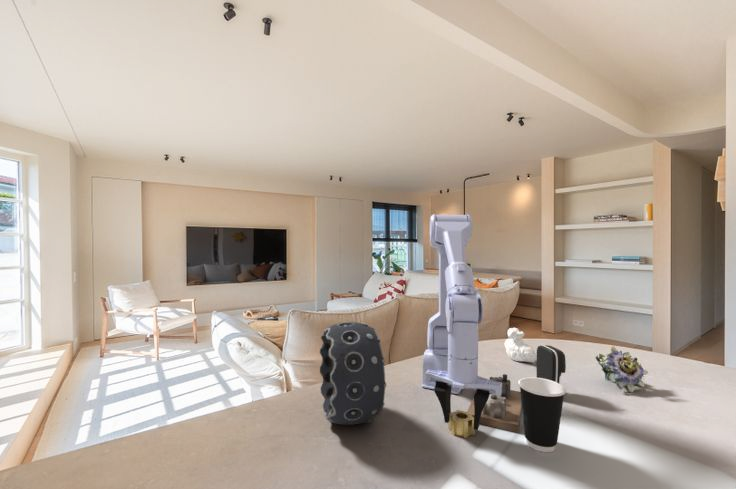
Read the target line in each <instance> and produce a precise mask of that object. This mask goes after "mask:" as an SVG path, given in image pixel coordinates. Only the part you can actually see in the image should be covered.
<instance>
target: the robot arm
mask: <svg viewBox="0 0 736 489" xmlns="http://www.w3.org/2000/svg"><path fill="white" fill-rule="evenodd" d="M429 218H430V219H429V244H430V247H431V248H433V249H436V251H437V255H438V312H436V313H435V314H434V315H432V316H431V317H430V318H429V319H428V322H427V329H426V330H427V331H426V333H427V334H426V335H427V336H426V338H427V339H426V340H427V343H426V344H427V349H425V351H424V353H423V357H422V384H421V387H422V388H424V389H429V390H430V389H431V390H433V392H434V393H435V396H436V398H437V399H438V402H439V404H440V407H441V410H442V414H443V415H442V416H443V419H444V420H443V421H444V423H447V424H449V413H450V412H451V413H452V411H451V408H452V406H451V403H452V402H451V400H452V399H451V398H452V394H455V395H460V393H461V391H462V390H463V389H468V390H473V391H475V393H474V395H473V398H474V411H475V414H474V429H475V431H478V429H479V427H480V424H479V423H480V417H481V413H482V410H483V408H484V406H485V404H486V403H487V401H488V398H489V395H490V393H493V394H495V395H496V396H501V394H502V383H501V382H496V381H492V380H490V378H489V379H488V378H485V377H482V376H479V371H478V370H479V369H478V368H479V367H478V366H479V325H481V323H482V321H483V312H484V311H483V310H484V308H483V300H482V296H481V295H480V293H479V290H478V289H476V285H475V278H474V273H473V269H472V267H471V266H470V265H469V264H468V263H467V262H466V247H467V245H468V244H469V241H470V240H471V237H472V234H473V218H472V216H471V215H470V214H434V213H433V214H432V215H430V216H429ZM478 324H479V325H478Z"/></svg>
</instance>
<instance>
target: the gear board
mask: <svg viewBox="0 0 736 489" xmlns="http://www.w3.org/2000/svg"><path fill="white" fill-rule="evenodd" d="M489 380H492V381H496V382H501V383H502V394H501V396H496V395H495V394H493V393H490V395H489V398H488V401H487V403H486V404H485V406H484V408H483V410H482V413H481V417H480V423H479V425H482V426H483V425H484V426H487V427H492V428H495V429H501V430H505V431H509V432H512V433H518V434H519V429H520V423H521V416H522V403H521V392H520V391H519V390H513V389H511V380H510V379H508V374H506V373H503V374H502V376H497V377H496V376H495V377H494V376H490V377H489ZM466 412H470V413H472V417H473V418H474V414H475V411H474V397H473V398H472V401H471V403H470V405H469V406H468V409H467V411H466Z"/></svg>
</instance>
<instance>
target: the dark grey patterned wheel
mask: <svg viewBox="0 0 736 489" xmlns="http://www.w3.org/2000/svg"><path fill="white" fill-rule="evenodd" d="M322 331H323V332H322V334H321V335H320V336H321V337H320V339H321V341H322V344H321V346H320V348H319V354H320V355H321V358H322V360H321V364H320V366H319V374H320V375H321V377H322V383H321V385H320V387H319V389H320V394H321V395H322V396H323V398H324V401H323V404H322V411H324V412H325V413H326V414H325V415H324V416H325V417H324V418H325V419H326V420H327V421H328V422H331V423H333V424H337V425H342V426H344V425H346V426H347V425H359V424H363V423H370V422H372V421H373V419H374V418H375V417H376V416H379V415H380V414H381V412H382V409H383V407H384V406H385V394H386V387H387V383H386V370H385V363H386V360H385V358H384V355H383V349H382V345H381V338H379V336H378V334H377V332H376V329H375V327H373V326H370V325H368V324H367V323H366V322H356V321H345V322H344V321H343V322H339V323H338V322H337V323H335V324H332V325H330V326H328V327H326V328H325V329H323V330H322Z"/></svg>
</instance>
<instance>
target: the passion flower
mask: <svg viewBox="0 0 736 489" xmlns="http://www.w3.org/2000/svg"><path fill="white" fill-rule="evenodd" d="M605 357H606V358H605ZM604 358H605V359H604ZM595 360H596V361H597V362H598V363H597V364H598V365H600V366H601V371H603V373H604V379H605V381H606V380H607V381H615V384H616V386H617V387H618V389H619V390H622V389H623V388H624V389H625V391H627V392H628V393H630V394H633V392H634V391H635V385H637V386H639V387H642V388H644V387H645V383H644V382H643V380H644V378H645V376H646V375H647V374H649V371H648V370H646V369H644V368H643V366H642V362H641V361H638V358H637V357H632V355H630V352H629V351H626V352H623V351H622V350H617V349H616V347H615V346H613V345H611V346H610V352H609V353H608V354H602V353H599V354H598V355H596V356H595ZM643 377H644V378H643Z"/></svg>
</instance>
